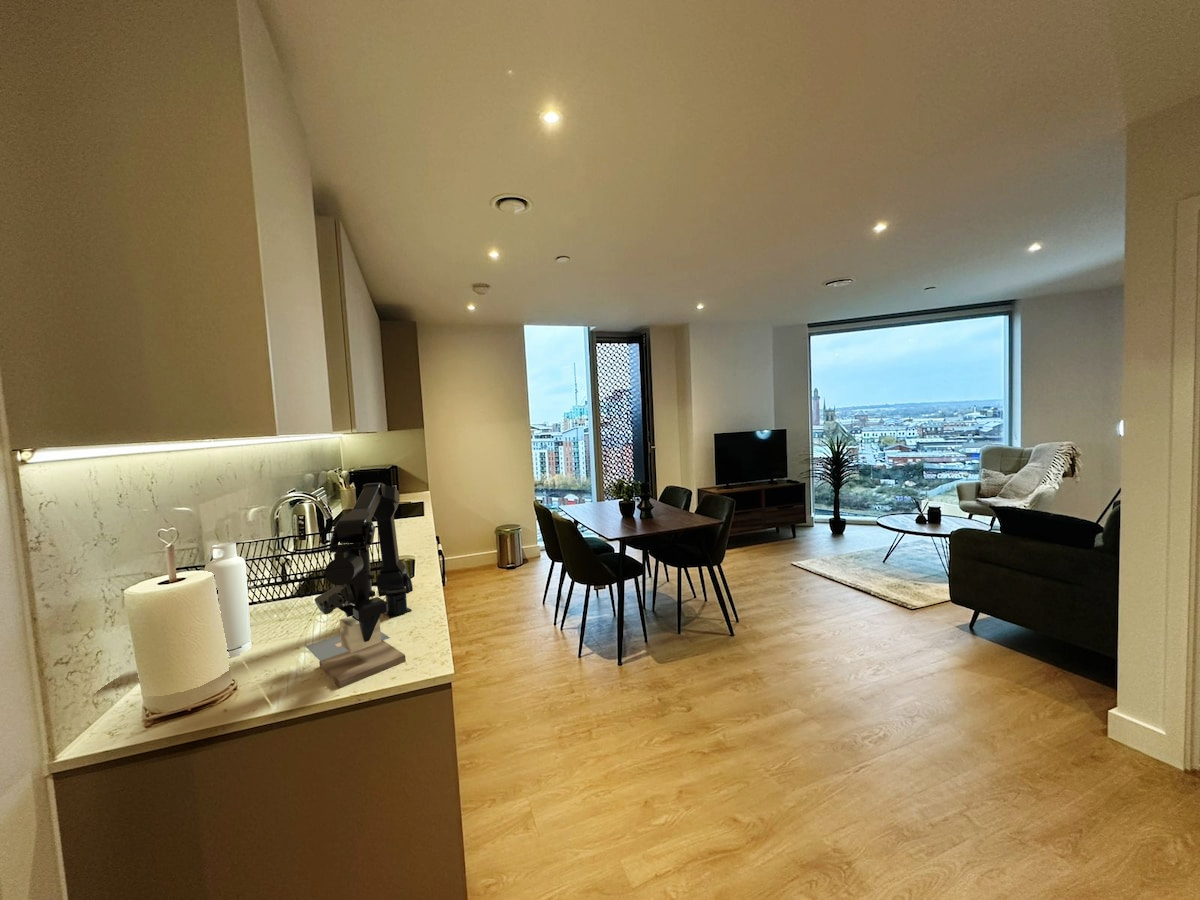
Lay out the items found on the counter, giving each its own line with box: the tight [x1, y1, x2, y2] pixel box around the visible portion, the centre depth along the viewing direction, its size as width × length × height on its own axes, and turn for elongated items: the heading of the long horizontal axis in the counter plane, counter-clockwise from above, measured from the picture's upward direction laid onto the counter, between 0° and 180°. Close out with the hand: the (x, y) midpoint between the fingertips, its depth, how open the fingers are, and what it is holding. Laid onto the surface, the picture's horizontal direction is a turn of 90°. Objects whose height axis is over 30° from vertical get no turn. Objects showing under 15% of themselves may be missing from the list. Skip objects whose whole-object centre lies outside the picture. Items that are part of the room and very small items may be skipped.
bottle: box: [204, 542, 253, 659], centre depth 113 cm, size 8×8×28 cm
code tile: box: [304, 631, 391, 661], centre depth 116 cm, size 14×16×1 cm
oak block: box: [339, 615, 382, 653], centre depth 103 cm, size 6×6×6 cm
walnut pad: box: [318, 639, 407, 689], centre depth 104 cm, size 14×14×2 cm
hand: (361, 637), depth 104 cm, fingers closed on oak block, 6 cm apart
